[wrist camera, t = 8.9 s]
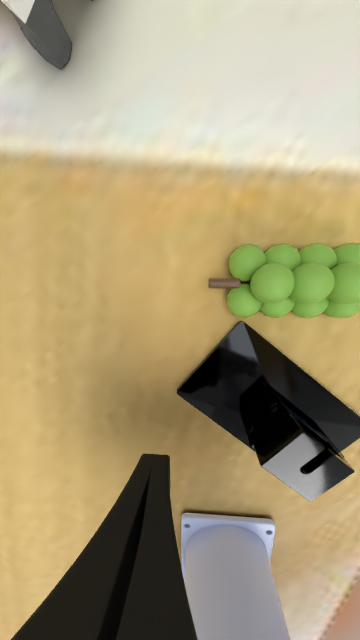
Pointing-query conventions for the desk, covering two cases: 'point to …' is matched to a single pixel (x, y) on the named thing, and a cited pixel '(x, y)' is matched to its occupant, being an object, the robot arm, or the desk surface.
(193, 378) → the build plate
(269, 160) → the desk surface
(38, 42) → the giant panda
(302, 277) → the grapes
